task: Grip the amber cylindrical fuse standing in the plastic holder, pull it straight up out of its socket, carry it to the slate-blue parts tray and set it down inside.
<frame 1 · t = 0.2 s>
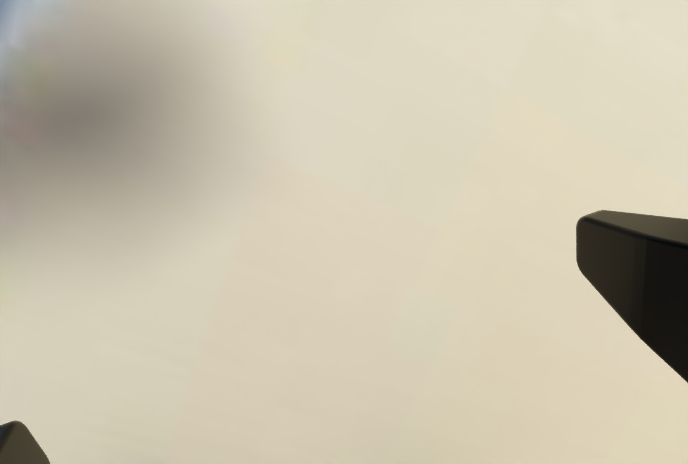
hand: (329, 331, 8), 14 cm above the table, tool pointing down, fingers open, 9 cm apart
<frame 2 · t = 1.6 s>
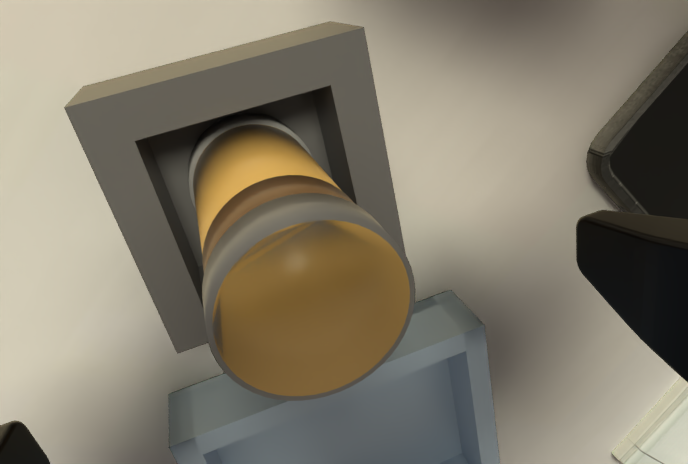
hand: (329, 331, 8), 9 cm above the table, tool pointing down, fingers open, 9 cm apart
holder: (248, 168, 16), on the table
fuse: (250, 173, 16), resting on holder
tray: (341, 425, 22), on the table
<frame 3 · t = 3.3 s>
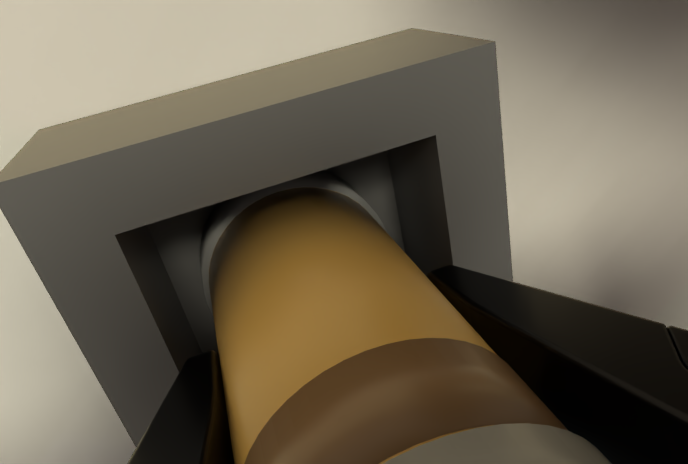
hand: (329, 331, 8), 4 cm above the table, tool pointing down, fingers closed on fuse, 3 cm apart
holder: (285, 240, 11), on the table
fuse: (290, 250, 11), point 1 cm above the table, touching gripper, holder
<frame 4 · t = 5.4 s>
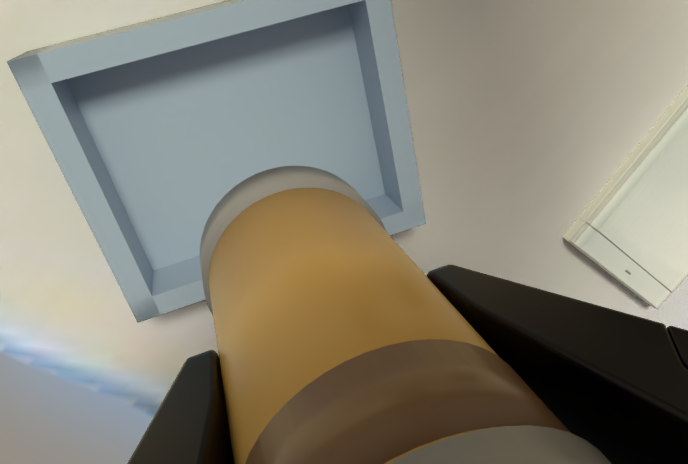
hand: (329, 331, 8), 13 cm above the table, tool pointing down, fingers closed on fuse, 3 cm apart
fuse: (290, 250, 11), point 10 cm above the table, touching gripper
hard drive: (677, 171, 27), on the table
tray: (243, 137, 19), on the table
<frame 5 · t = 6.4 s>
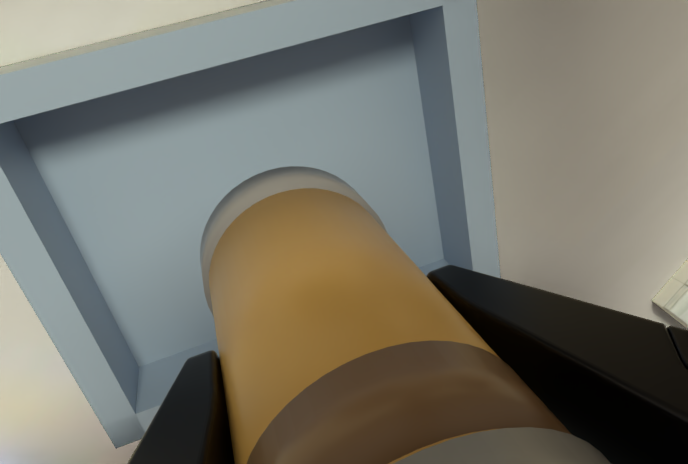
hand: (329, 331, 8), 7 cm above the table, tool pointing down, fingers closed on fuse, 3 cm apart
fuse: (291, 251, 11), point 4 cm above the table, touching gripper
tray: (261, 189, 14), on the table
when the fingers open (5 cm above the table, at t = 7.4 s): fuse drops 2 cm, resting on tray.
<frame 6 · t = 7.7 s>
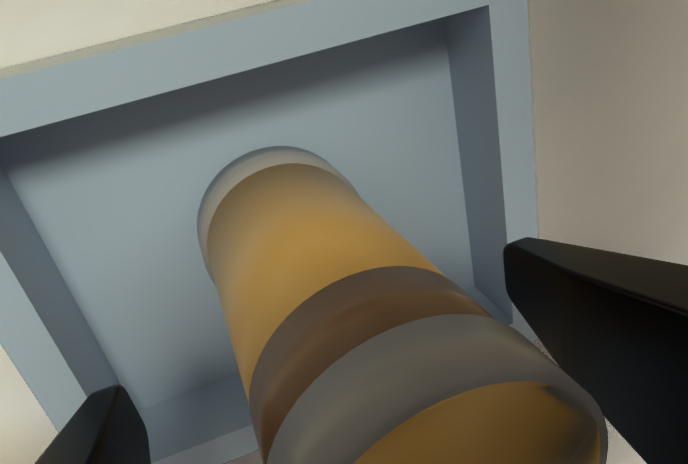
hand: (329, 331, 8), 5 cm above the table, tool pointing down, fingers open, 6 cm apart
fuse: (277, 222, 12), point 1 cm above the table, touching tray
tray: (272, 212, 13), on the table
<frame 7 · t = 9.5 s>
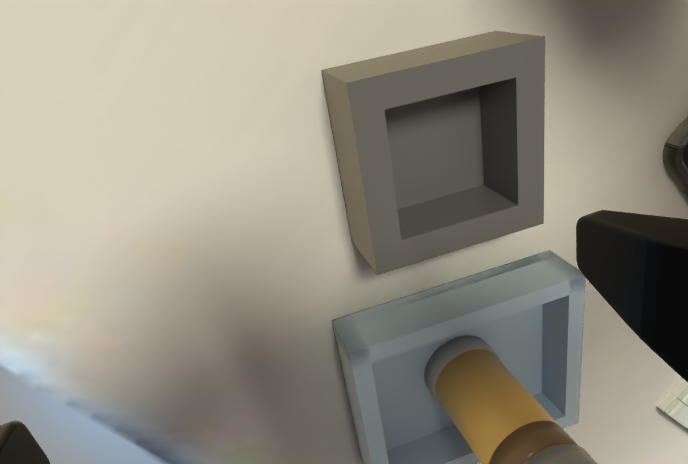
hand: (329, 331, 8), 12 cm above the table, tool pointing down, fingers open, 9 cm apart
holder: (420, 140, 21), on the table
fuse: (458, 366, 26), point 1 cm above the table, touching tray
tray: (452, 359, 27), on the table
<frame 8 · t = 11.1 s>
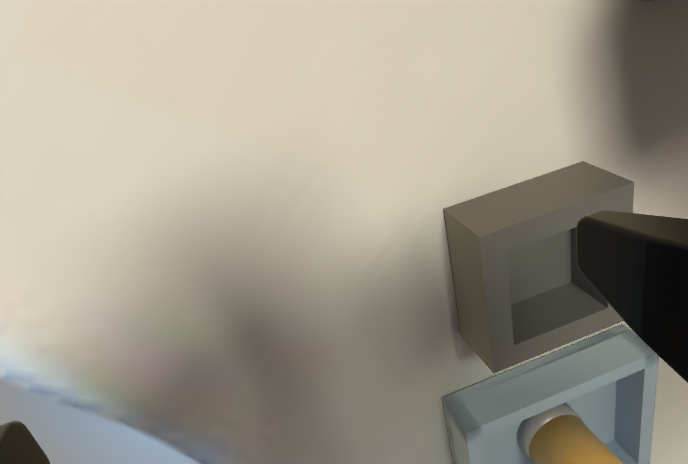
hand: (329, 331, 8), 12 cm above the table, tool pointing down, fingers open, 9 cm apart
holder: (519, 251, 25), on the table
fuse: (544, 426, 30), point 1 cm above the table, touching tray
tray: (538, 418, 31), on the table
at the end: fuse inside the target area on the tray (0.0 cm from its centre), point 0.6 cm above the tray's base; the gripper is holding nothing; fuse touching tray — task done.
